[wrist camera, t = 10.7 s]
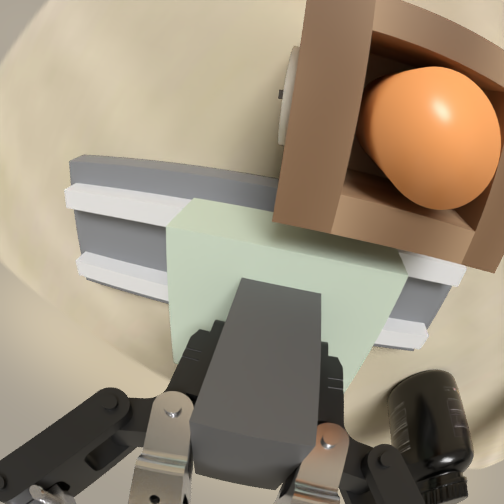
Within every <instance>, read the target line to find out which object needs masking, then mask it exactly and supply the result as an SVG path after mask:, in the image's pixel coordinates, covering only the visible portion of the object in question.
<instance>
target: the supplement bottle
mask: <svg viewBox="0 0 504 504" xmlns="http://www.w3.org/2000/svg"><path fill="white" fill-rule="evenodd" d="M387 406H388V415H389V424H390V434H391V444H392V446H394V447H395V448H396V449H398V451H399V452H400V453H401V455H402V457H403V459H404V461H405V463H406V465H407V467H408V469H409V471H410V473H411V475H412V477H413V479H414V481H415V483H416V485H417V487H418V489H419V491H420V493H421V495H422V497H423V499H424V502H425V504H457V503H459V502H461V501H463V500H464V499H466V498H467V497H468V491H467V484H466V483H467V478H466V477H463V472H464V471H465V470H466V469H467V468H468V467H469V465H470V464H471V462H472V459H473V456H474V450H473V444H472V440H471V435H470V431H469V427H468V423H467V419H466V415H465V411H464V408H463V404H462V400H461V397H460V394H459V390H458V387H457V384H456V381H455V379H454V377H453V376H452V375H451V374H450V373H448V372H446V371H442V370H430V371H425V372H421V373H418V374H415V375H413V376H411V377H409V378H407V379H405V380H404V381H402V382H401V383H400V384H398V385H397V386H396V387H395V388H394V389H393V390H392V392H391V393H390V395H389V397H388V401H387Z"/></svg>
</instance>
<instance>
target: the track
mask: <svg viewBox="0 0 504 504" xmlns="http://www.w3.org/2000/svg"><path fill="white" fill-rule="evenodd" d="M69 165H70V178H71V186H70V187H68V188H66V189H64V192H65V200H66V208H70V209H74V213H75V220H76V227H77V233H78V239H79V245H80V250H81V256H80V257H79V258H78V259H77V260H76V264H77V268H78V273H79V275H81V276H84V277H86V279H87V280H89V281H92V282H96V283H99V284H102V285H105V286H108V287H112V288H115V289H118V290H121V291H125V292H128V293H132V294H135V295H138V296H142V297H145V298H149V299H153V300H156V301H160V302H163V303H167V304H169V299H168V281H167V255H166V226H167V225H168V224H169V223H170V221H171V220H172V219H173V218H174V217H175V216H176V215H177V214H178V213H179V212H180V211H181V210H182V209H183V208H184V207H185V206H186V205H187V204H188V203H189V202H190V201H191V200H192V199H193V198H199V199H204V200H210V201H216V202H222V203H227V204H233V205H239V206H244V207H249V208H255V209H260V210H265V211H270V212H274V206H275V200H276V194H277V189H278V183H279V179H276V178H270V177H265V176H259V175H253V174H247V173H241V172H235V171H229V170H222V169H216V168H209V167H202V166H194V165H187V164H179V163H171V162H162V161H153V160H143V159H133V158H122V157H109V156H95V155H82V156H80V157H77V158H75V159H73V160H70V161H69ZM397 250H398V252H399V255H400V257H401V259H402V261H403V264H404V266H405V268H406V271H407V273H408V275H409V276H408V278H407V280H406V283H405V285H404V287H403V289H402V291H401V293H400V295H399V297H398V299H397V301H396V304H395V306H394V308H393V310H392V311H391V313H390V315H389V317H388V319H387V321H386V323H385V325H384V327H383V329H382V331H381V332H380V334H379V336H378V338H377V340H376V341H375V343H374V345H373V346H378V347H385V348H393V349H401V350H409V351H414V349H421V347H422V346H423V344H424V343H425V341H426V340H427V338H428V337H429V335H428V332H427V329H428V327H429V326H430V324H431V322H432V321H433V319H434V317H435V316H436V314H437V312H438V310H439V309H440V307H441V305H442V303H443V302H444V300H445V298H446V296H447V294H448V292H449V291H450V289H451V287H452V286H456V287H458V285H459V283H460V281H461V279H462V278H463V276H464V274H465V272H466V270H467V268H466V267H465V265H461V264H457V263H453V262H449V261H445V260H441V259H437V258H433V257H429V256H425V255H421V254H417V253H413V252H409V251H405V250H400V249H397Z"/></svg>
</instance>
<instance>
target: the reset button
mask: <svg viewBox="0 0 504 504" xmlns="http://www.w3.org/2000/svg"><path fill="white" fill-rule="evenodd" d="M355 132H356V136H357V138H358V141H359V143H360V144H361V146H362V148H363V149H364V151H365V152H366V153H367V154H368V155H369V156H370V158H371V159H372V160H373V161H374V162H375V163H376V164H377V165H378V167H379V168H380V169H381V170H382V171H383V172H384V174H385V175H386V176H387V177H388V178H389V179H390V181H391V182H392V183H393V184H394V185H395V187H396V188H397V189H398V190H399V191H400V192H401V193H402V194H403V195H404V196H405V197H407V198H408V199H409V200H411V201H413V202H414V203H416V204H418V205H420V206H423V207H426V208H430V209H436V210H449V209H454V208H458V207H460V206H463V205H465V204H467V203H469V202H471V201H472V200H474V199H475V198H476V197H478V196H479V195H480V194H481V193H482V192H483V191H484V189H485V188H486V187H487V186H488V184H489V183H490V181H491V179H492V178H493V176H494V173H495V171H496V168H497V165H498V162H499V157H500V150H501V135H500V127H499V123H498V119H497V116H496V113H495V111H494V109H493V107H492V104H491V103H490V101H489V99H488V98H487V96H486V95H485V94H484V92H483V91H482V90H481V89H480V88H479V87H478V86H477V85H476V84H475V83H474V82H473V81H472V80H470V79H469V78H468V77H466V76H465V75H463V74H461V73H459V72H457V71H454V70H452V69H448V68H444V67H424V68H418V69H413V70H407V71H402V72H397V73H392V74H388V75H384V76H381V77H378V78H376V79H375V80H373V81H372V82H370V83H369V84H368V85H367V86H366V87H365V88H364V89H363V93H362V99H361V104H360V110H359V115H358V120H357V125H356V130H355Z"/></svg>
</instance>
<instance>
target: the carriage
mask: <svg viewBox="0 0 504 504" xmlns="http://www.w3.org/2000/svg"><path fill="white" fill-rule="evenodd" d="M272 218H273V212H270V211H265V210H260V209H255V208H249V207H244V206H239V205H233V204H227V203H222V202H216V201H210V200H204V199H199V198H193V199H192V200H191V201H190V202H189V203H188V204H187V205H186V206H185V207H184V208H183V209H182V210H181V211H180V212H179V213H178V214H177V215H176V216H175V217H174V218H173V219H172V220H171V221H170V223H169V224H168V225H167V226H166V255H167V281H168V299H169V314H170V327H171V339H172V350H173V360H174V363H176V364H178V363H179V361H180V359H181V357H182V354H183V352H184V350H185V349H186V346H187V344H188V341H189V339H190V337H191V336H192V335H193V334H194V333H196V332H197V331H198V330H199V329H202V330H206V331H211V328H212V326H213V323H214V321H215V320H220V321H225V324H224V327H223V330H222V332H221V335H220V338H219V341H218V343H217V346H216V349H215V351H214V354H213V357H212V360H211V362H210V365H209V368H208V371H207V373H206V376H205V379H204V381H203V384H202V387H201V390H200V392H199V395H198V398H197V401H196V403H195V406H194V409H193V412H192V414H191V417H190V420H189V425H190V434H191V443H192V451H193V459H194V467H195V473H196V474H199V475H203V476H207V477H211V478H215V479H219V480H223V481H228V482H232V483H237V484H242V485H247V486H253V487H259V488H265V489H271V490H276V489H277V488H278V487H279V486H280V485H281V484H282V483H283V482H284V481H285V480H286V479H287V477H288V476H289V475H290V474H291V473H292V472H293V471H294V470H295V469H296V468H297V467H298V466H299V465H300V463H301V462H302V461H303V460H304V459H305V458H306V457H307V456H308V454H309V453H310V452H311V451H312V450H313V449H314V448H315V446H316V436H317V422H318V407H319V388H320V362H321V341H323V342H328V356H333V357H338V359H339V361H340V363H341V365H342V367H343V391H344V392H345V391H346V389H347V388H348V386H349V385H350V383H351V382H352V380H353V378H354V377H355V375H356V374H357V372H358V370H359V369H360V367H361V365H362V364H363V362H364V360H365V359H366V357H367V355H368V354H369V352H370V350H371V348H372V347H373V345H374V343H375V341H376V340H377V338H378V336H379V334H380V332H381V331H382V329H383V327H384V325H385V323H386V321H387V319H388V317H389V315H390V313H391V311H392V310H393V308H394V306H395V304H396V301H397V299H398V297H399V295H400V293H401V291H402V289H403V287H404V285H405V283H406V280H407V278H408V276H409V275H408V273H407V271H406V268H405V266H404V264H403V261H402V259H401V257H400V255H399V252H398V250H397V249H396V248H392V247H388V246H383V245H379V244H375V243H370V242H366V241H361V240H357V239H352V238H348V237H343V236H339V235H334V234H329V233H325V232H320V231H315V230H310V229H306V228H301V227H296V226H291V225H286V224H281V223H276V222H272Z"/></svg>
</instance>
